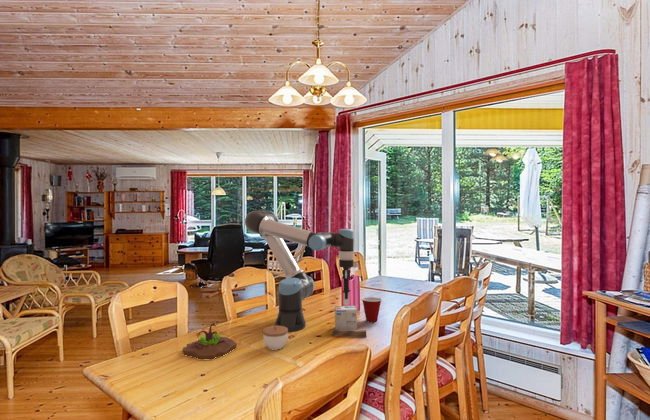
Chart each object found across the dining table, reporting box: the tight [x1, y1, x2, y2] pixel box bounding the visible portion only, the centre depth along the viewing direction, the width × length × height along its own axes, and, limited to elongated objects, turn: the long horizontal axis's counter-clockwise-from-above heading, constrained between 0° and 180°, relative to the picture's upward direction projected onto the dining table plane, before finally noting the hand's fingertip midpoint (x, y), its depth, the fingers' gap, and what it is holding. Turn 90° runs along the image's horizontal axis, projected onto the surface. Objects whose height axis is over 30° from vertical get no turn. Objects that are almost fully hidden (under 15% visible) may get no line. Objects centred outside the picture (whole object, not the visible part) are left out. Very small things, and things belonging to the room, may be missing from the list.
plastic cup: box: [361, 296, 383, 323], centre depth 191 cm, size 11×11×12 cm
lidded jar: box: [262, 325, 289, 351], centre depth 156 cm, size 11×11×9 cm
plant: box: [182, 322, 237, 360], centre depth 154 cm, size 20×20×11 cm
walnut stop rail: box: [331, 328, 367, 338], centre depth 169 cm, size 16×2×2 cm, turn 84°
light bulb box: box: [334, 305, 358, 330], centre depth 178 cm, size 11×7×11 cm, turn 92°
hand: (346, 304), depth 186 cm, fingers closed
